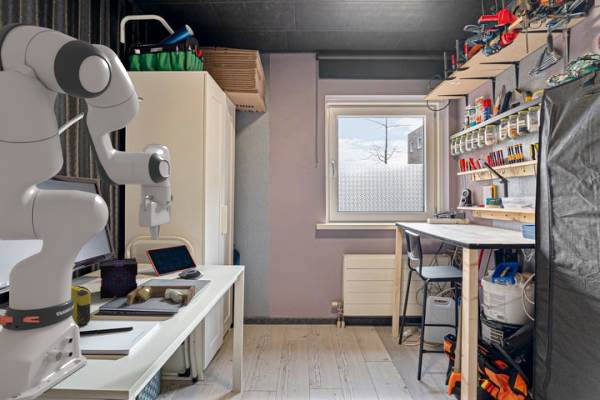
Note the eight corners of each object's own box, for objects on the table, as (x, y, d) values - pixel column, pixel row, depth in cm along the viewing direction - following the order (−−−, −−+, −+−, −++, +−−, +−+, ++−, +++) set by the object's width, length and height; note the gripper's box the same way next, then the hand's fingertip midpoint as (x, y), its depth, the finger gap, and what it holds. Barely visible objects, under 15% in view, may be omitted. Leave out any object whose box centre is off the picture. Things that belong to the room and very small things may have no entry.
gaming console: (95, 324, 102) (95, 290, 102) (79, 328, 99) (79, 293, 99) (55, 307, 116) (55, 277, 116) (40, 310, 113) (40, 279, 112)
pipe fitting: (183, 305, 122) (190, 298, 129) (182, 294, 122) (190, 287, 128) (160, 304, 122) (169, 297, 129) (160, 293, 122) (168, 287, 129)
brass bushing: (153, 295, 129) (149, 300, 124) (142, 298, 128) (137, 302, 123) (151, 285, 128) (146, 289, 123) (140, 287, 128) (134, 291, 123)
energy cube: (100, 299, 125) (100, 266, 125) (101, 291, 135) (101, 260, 135) (137, 295, 131) (137, 263, 130) (135, 287, 141) (135, 257, 141)
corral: (187, 305, 120) (187, 294, 120) (127, 305, 119) (127, 295, 119) (195, 294, 132) (195, 285, 132) (140, 295, 131) (140, 285, 131)
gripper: (155, 195, 102) (154, 243, 102) (174, 196, 122) (174, 236, 122) (133, 195, 101) (132, 243, 101) (155, 196, 122) (155, 236, 122)
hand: (155, 239), depth 112 cm, fingers closed
